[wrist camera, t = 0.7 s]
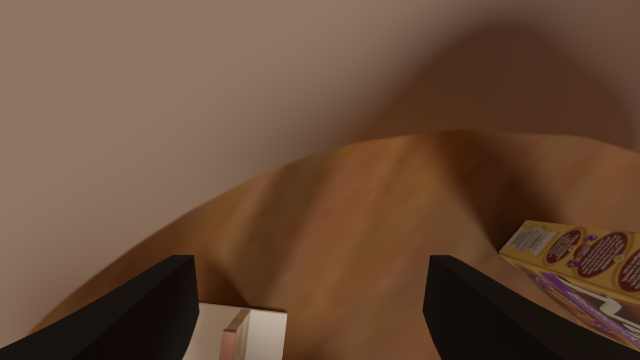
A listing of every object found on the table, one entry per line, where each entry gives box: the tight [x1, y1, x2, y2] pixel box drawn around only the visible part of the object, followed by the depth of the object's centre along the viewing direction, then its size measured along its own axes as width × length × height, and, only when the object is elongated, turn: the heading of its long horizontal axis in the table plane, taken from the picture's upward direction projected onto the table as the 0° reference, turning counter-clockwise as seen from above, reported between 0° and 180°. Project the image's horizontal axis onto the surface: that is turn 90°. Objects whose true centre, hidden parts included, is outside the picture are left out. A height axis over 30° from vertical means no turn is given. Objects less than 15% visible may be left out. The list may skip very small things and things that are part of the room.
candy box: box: [499, 220, 640, 352], centre depth 20 cm, size 9×4×15 cm, turn 49°
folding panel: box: [219, 309, 251, 360], centre depth 24 cm, size 5×1×5 cm, turn 174°
